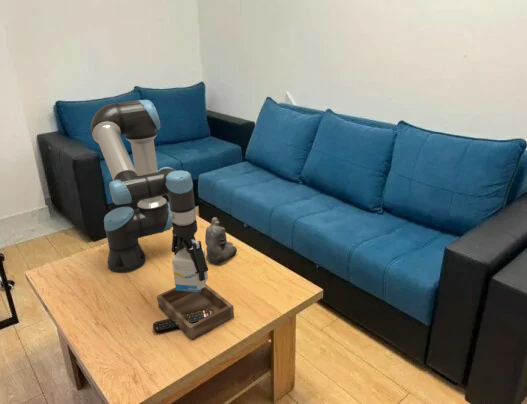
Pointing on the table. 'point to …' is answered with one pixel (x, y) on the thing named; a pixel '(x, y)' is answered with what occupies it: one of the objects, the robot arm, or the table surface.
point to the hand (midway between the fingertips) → (191, 280)
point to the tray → (195, 309)
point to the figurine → (218, 244)
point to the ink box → (185, 272)
